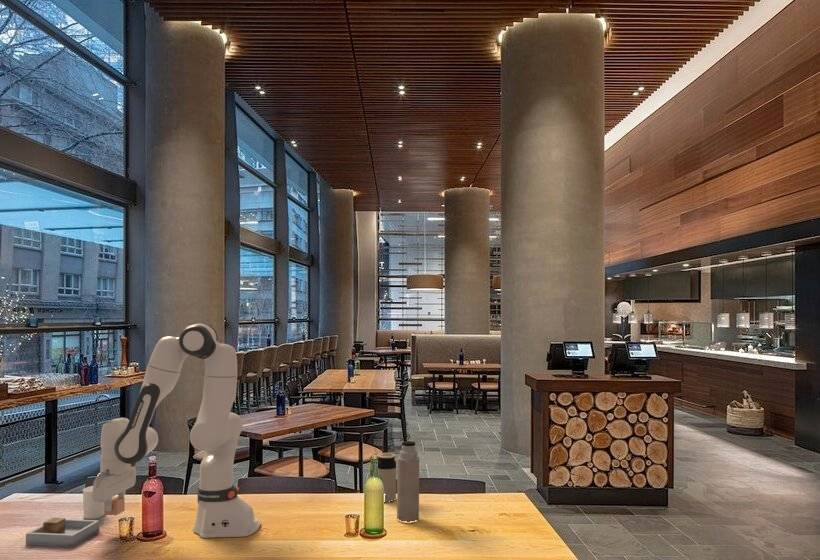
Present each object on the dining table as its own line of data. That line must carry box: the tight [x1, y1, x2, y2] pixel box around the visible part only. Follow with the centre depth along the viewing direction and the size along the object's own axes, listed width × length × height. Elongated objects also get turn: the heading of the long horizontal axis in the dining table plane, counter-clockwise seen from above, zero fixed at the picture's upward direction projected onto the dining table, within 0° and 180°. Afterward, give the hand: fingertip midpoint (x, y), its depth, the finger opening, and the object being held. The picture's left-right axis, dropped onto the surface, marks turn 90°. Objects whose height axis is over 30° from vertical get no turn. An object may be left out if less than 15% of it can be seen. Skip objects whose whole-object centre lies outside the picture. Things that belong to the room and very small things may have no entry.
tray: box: [25, 518, 101, 548], centre depth 198 cm, size 16×14×4 cm
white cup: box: [82, 485, 105, 520], centre depth 219 cm, size 8×8×10 cm
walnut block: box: [42, 517, 66, 534], centre depth 198 cm, size 4×4×4 cm
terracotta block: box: [104, 496, 126, 516], centre depth 203 cm, size 4×4×4 cm
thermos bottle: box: [396, 440, 420, 522], centre depth 218 cm, size 8×8×28 cm
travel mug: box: [377, 452, 397, 502], centre depth 240 cm, size 8×8×18 cm
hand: (114, 507), depth 203 cm, fingers closed on terracotta block, 4 cm apart
